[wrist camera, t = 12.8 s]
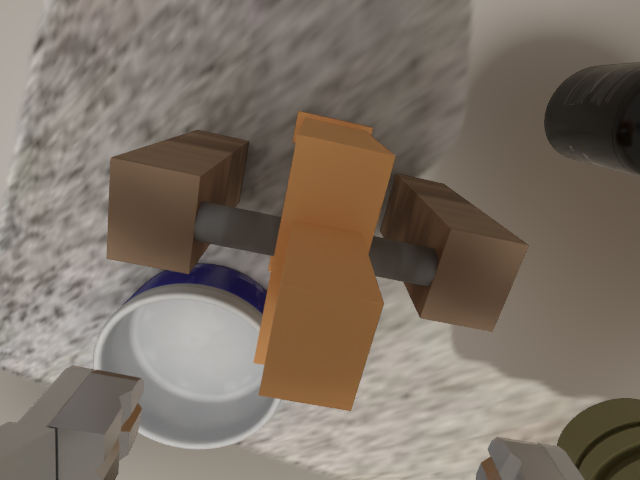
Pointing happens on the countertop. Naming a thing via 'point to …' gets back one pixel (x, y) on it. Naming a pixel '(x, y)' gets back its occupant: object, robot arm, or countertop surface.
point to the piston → (605, 440)
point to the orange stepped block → (324, 266)
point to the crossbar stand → (262, 229)
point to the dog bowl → (192, 356)
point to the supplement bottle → (598, 117)
